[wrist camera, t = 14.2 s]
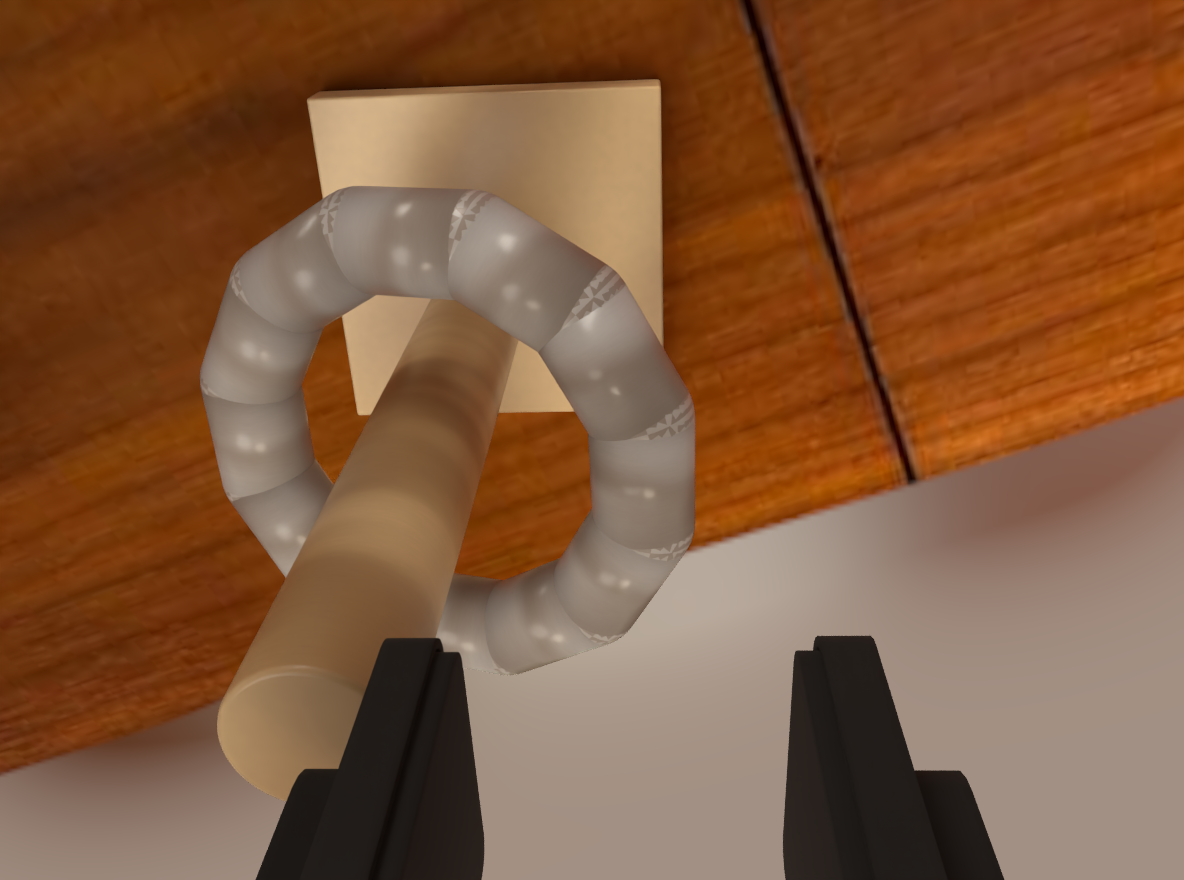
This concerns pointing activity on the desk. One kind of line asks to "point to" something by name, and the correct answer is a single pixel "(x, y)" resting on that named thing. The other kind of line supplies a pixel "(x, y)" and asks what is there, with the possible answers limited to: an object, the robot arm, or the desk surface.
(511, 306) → the ring
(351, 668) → the wooden peg stand
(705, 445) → the desk surface
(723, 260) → the desk surface
